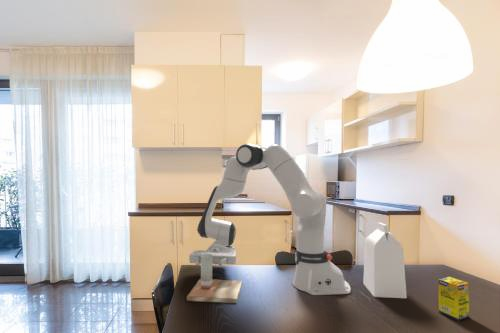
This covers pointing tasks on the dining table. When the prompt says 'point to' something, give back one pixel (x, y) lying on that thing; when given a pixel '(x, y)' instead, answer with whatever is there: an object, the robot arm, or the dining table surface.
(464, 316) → the supplement box
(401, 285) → the milk
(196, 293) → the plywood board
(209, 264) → the grey-green rectangular block
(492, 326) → the dining table surface
